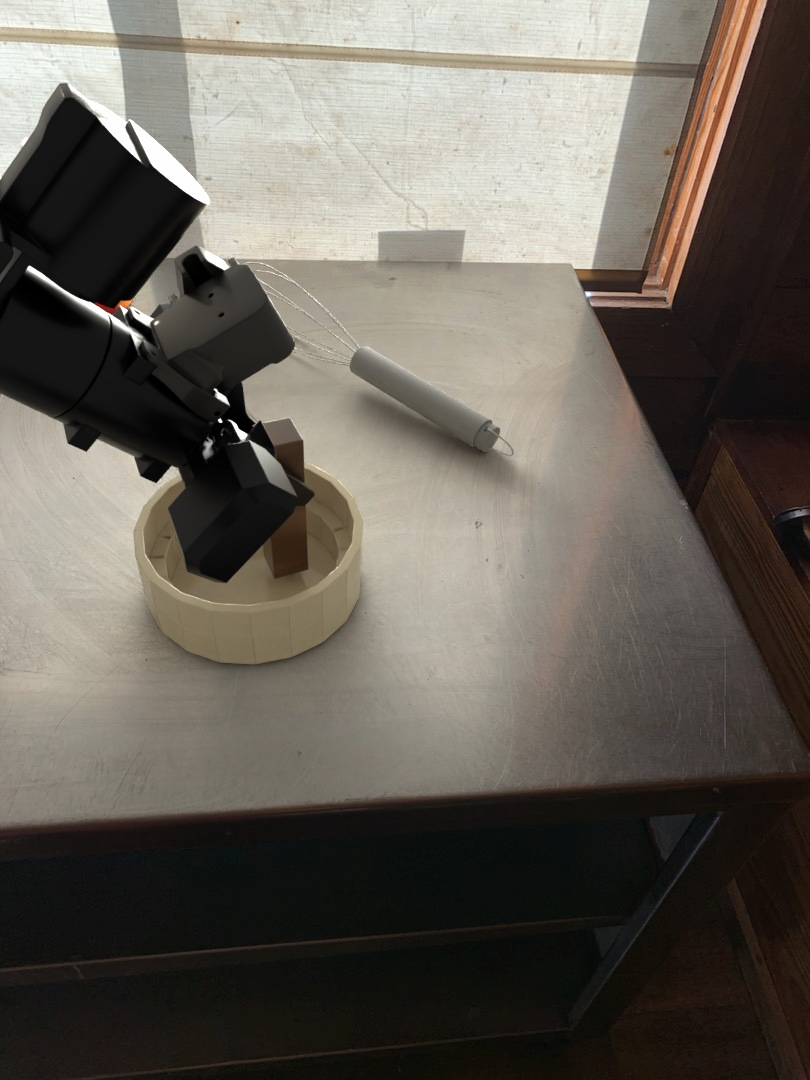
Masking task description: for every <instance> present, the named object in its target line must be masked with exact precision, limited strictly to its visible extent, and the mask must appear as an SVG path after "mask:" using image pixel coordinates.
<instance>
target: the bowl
mask: <svg viewBox="0 0 810 1080" xmlns="http://www.w3.org/2000/svg"><path fill="white" fill-rule="evenodd" d="M304 470H305V483H306V484H307V485H308V486H309V487H311V488H312V489H313V491H314V493H315V496H314V497H313V498H312V499H311V500H310V501H309V502H308V503H307V504H306V523H307V549H308V570H305V571H302V572H298V573H295V574H291V575H287V576H284V577H280V578H276V579H274V577H273V575H272V573H271V570H270V568H269V566H268V564H267V561H266V559H265V557H264V552H263V545H262V546H261V548H260V549H259V550H258V551H257V552H256V553H255V554H254V555H253V556H252V557H251V558H250V559H249V560H248V561H247V562H246V563H245V564H244V565H243V566H242V567H241V569H240V570H239V571H238V572H237V573H236V574H235V575H234V576H233V577H232V578H231V579H230V580H229V581H228V582H227V583H216V582H213V581H211V580H208V579H205V578H202V577H200V576H197V575H194V574H191V573H189V572H187V570H186V567H185V564H184V561H183V558H182V556H181V553H180V550H179V547H178V544H177V541H176V538H175V535H174V532H173V529H172V526H171V521H170V516H169V511H168V507H169V506H170V505H171V504H172V503H173V502H174V500H175V499H176V498H177V497H178V496H179V495H180V494H181V492H182V491H183V490H184V489H185V486H184V484H183V481H182V478H181V475H180V474H178V475H176V476H175V477H173V478H172V479H170V480H168V481H167V482H165V483H164V484H162V485H161V486H160V487H159V488H158V489H157V490H156V491H155V492H154V494H153V495H152V496H151V497H150V498H149V500H147V502H146V503H145V504H144V505H143V506H142V508H141V511H140V513H139V516H138V518H137V521H136V524H135V526H134V529H133V546H134V557H135V560H136V566H137V568H138V572H139V576H140V580H141V585H142V588H143V592H144V596H145V600H146V604H147V607H148V610H149V612H150V614H151V616H152V617H153V619H154V620H155V621H154V622H155V623H156V624H157V626H158V627H159V630H160V631H161V633H163V634H164V635H165V636H166V637H168V638H169V639H171V640H172V641H173V642H174V643H176V644H177V645H178V646H179V647H181V648H182V649H183V650H184V651H187V652H188V653H191V654H194V655H197V656H200V657H202V658H205V659H208V660H211V661H214V662H217V663H221V664H223V663H225V664H240V665H258V664H259V665H260V664H264V663H270V662H276V661H279V660H284V659H291V658H293V657H296V656H298V655H300V654H302V653H304V652H306V651H308V650H311V649H312V648H314V647H316V646H318V645H320V644H323V643H324V642H325V641H326V640H328V638H330V637H331V636H332V635H333V634H334V633H335V632H337V630H338V629H339V628H340V627H342V626H343V625H344V624H345V623H346V622H347V621H348V619H349V617H350V616H351V613H352V611H353V609H354V608H355V606H356V604H357V602H358V600H359V598H360V594H361V593H360V592H361V583H362V582H361V581H362V568H363V567H362V565H363V540H364V539H363V538H364V537H363V536H364V519H363V516H362V513H361V511H360V509H359V505H358V503H357V501H356V498H355V497H354V496H353V495H352V493H351V492H349V491H350V490H348V489H347V488H346V487H345V486H344V484H342V482H341V481H340V480H339V479H338V478H337V477H335V476H333V475H331V474H330V473H328V472H327V471H324V470H322V469H321V468H320V467H317V466H316V465H314V464H311V463H308V462H305V461H304Z"/></svg>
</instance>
